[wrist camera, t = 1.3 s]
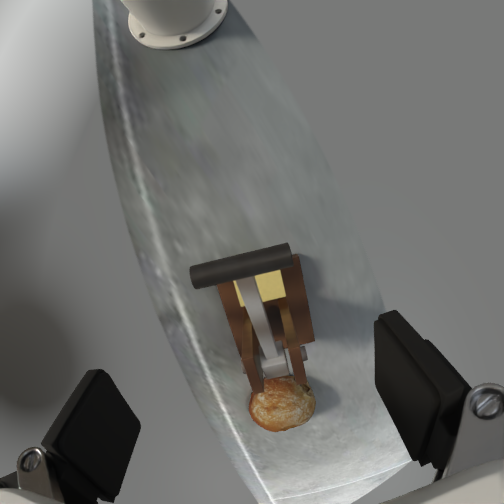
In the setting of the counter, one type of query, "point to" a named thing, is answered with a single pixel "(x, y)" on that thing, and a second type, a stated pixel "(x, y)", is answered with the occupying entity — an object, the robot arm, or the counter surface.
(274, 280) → the butter
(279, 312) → the cutter
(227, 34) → the counter surface
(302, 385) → the bread roll
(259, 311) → the arm
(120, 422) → the robot arm
